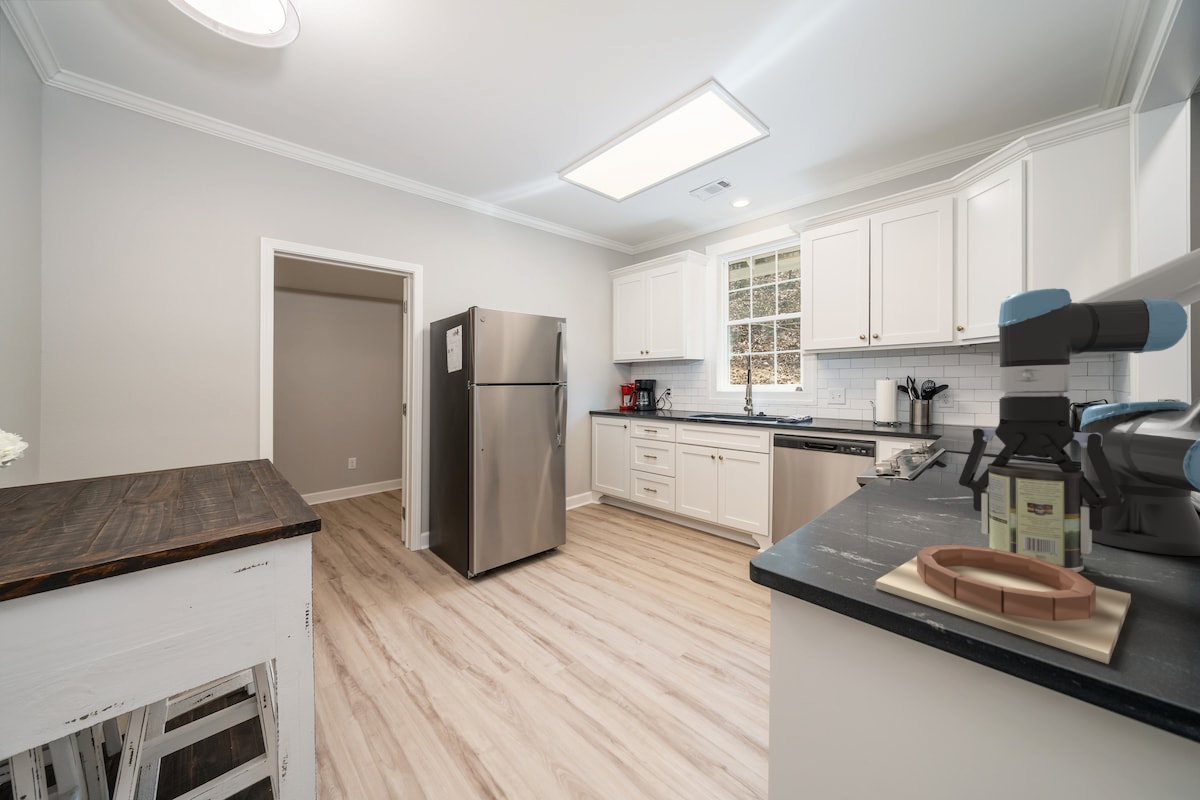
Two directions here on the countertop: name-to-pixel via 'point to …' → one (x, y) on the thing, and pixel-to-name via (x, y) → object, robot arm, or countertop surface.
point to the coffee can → (1036, 512)
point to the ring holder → (1015, 596)
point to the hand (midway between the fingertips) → (1033, 541)
